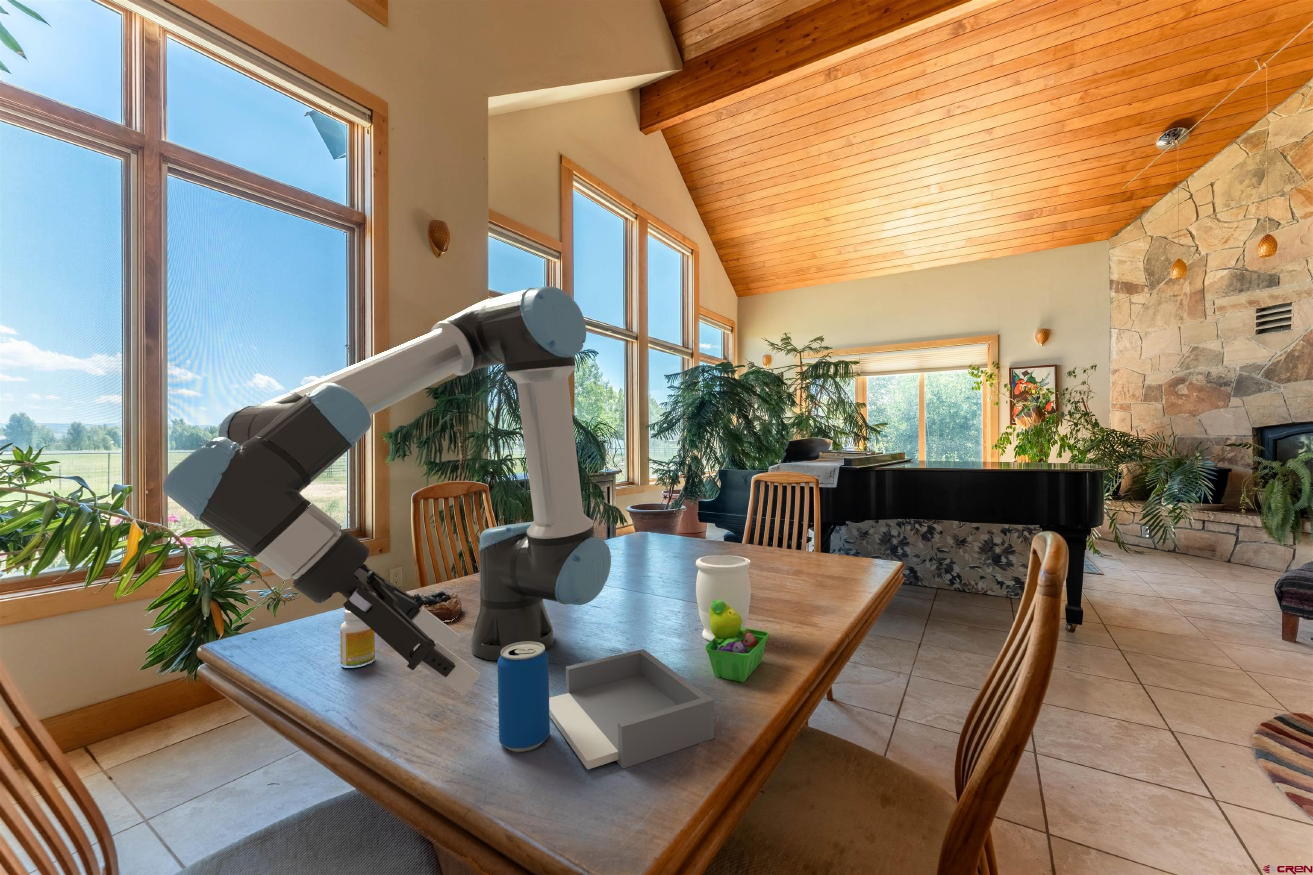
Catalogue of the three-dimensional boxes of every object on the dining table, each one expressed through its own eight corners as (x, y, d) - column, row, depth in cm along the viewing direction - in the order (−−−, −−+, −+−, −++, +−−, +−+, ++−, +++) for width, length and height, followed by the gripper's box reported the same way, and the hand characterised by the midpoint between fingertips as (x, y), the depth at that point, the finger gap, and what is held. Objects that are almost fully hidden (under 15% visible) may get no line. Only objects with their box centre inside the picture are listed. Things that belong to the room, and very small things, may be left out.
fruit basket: (748, 687, 86) (747, 615, 86) (697, 676, 91) (695, 607, 91) (771, 661, 96) (769, 596, 96) (723, 652, 101) (722, 590, 101)
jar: (749, 627, 113) (748, 554, 113) (753, 647, 103) (752, 566, 102) (697, 626, 114) (696, 554, 114) (696, 645, 104) (694, 566, 104)
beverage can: (504, 729, 75) (502, 641, 75) (552, 726, 76) (550, 638, 76) (494, 756, 69) (492, 660, 69) (547, 753, 69) (545, 657, 69)
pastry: (411, 612, 128) (410, 586, 128) (465, 608, 130) (465, 583, 130) (398, 628, 117) (397, 600, 117) (457, 623, 119) (457, 596, 119)
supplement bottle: (382, 660, 100) (380, 606, 99) (354, 671, 95) (353, 615, 95) (361, 655, 102) (360, 602, 102) (333, 666, 97) (332, 611, 97)
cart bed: (540, 706, 81) (539, 672, 81) (644, 679, 90) (643, 648, 90) (591, 779, 64) (590, 736, 64) (714, 737, 72) (713, 699, 72)
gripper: (299, 560, 71) (427, 654, 78) (273, 614, 49) (455, 738, 56) (346, 515, 73) (466, 610, 80) (341, 547, 51) (507, 674, 58)
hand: (462, 662), depth 68 cm, fingers open, 13 cm apart
